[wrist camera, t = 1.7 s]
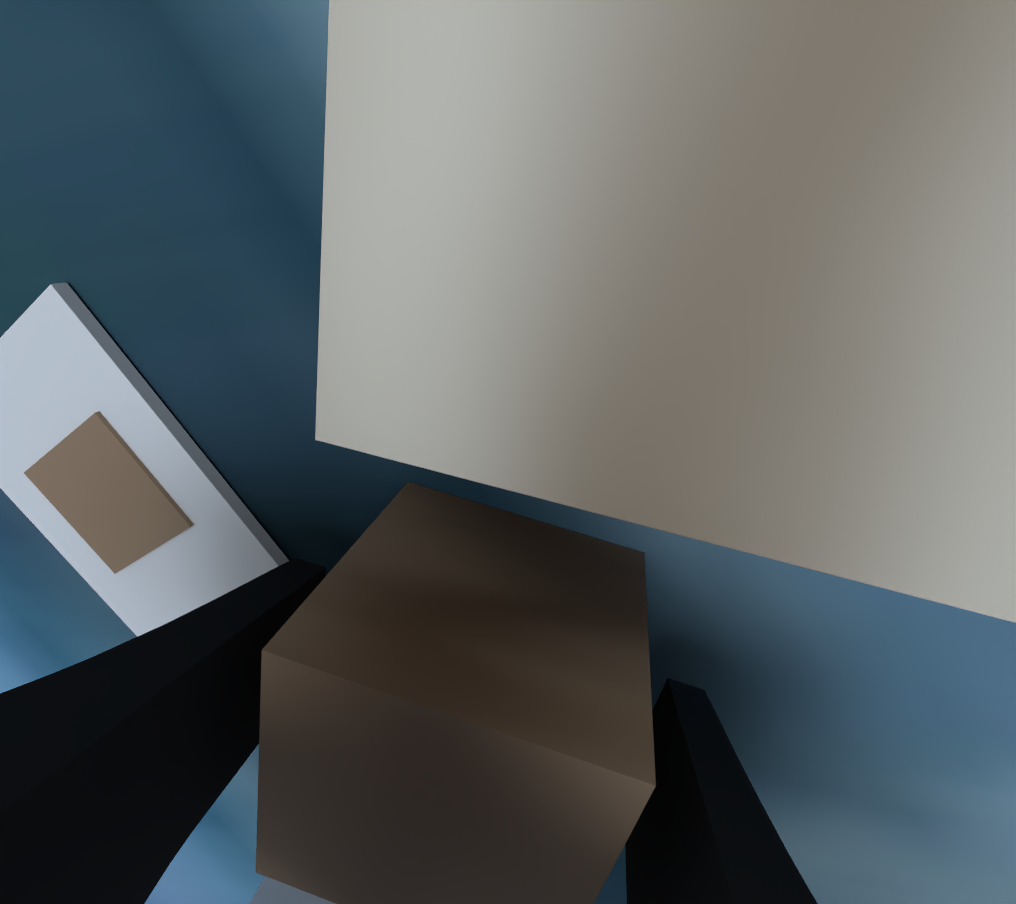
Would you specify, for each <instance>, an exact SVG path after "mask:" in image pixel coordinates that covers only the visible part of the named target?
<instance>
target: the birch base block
mask: <svg viewBox="0 0 1016 904" xmlns="http://www.w3.org/2000/svg"><path fill="white" fill-rule="evenodd" d="M315 440H318V441H322V442H326V443H330V444H333V445H337V446H341V447H345V448H349V449H352V450H356V451H360V452H364V453H368V454H372V455H375V456H379V457H383V458H387V459H391V460H395V461H398V462H402V463H406V464H410V465H414V466H418V467H421V468H425V469H429V470H433V471H437V472H441V473H444V474H448V475H452V476H456V477H460V478H464V479H467V480H471V481H475V482H479V483H483V484H486V485H490V486H494V487H498V488H502V489H506V490H509V491H513V492H517V493H521V494H525V495H529V496H532V497H536V498H540V499H544V500H548V501H552V502H555V503H559V504H563V505H567V506H571V507H575V508H578V509H582V510H586V511H590V512H594V513H598V514H601V515H605V516H609V517H613V518H617V519H620V520H624V521H628V522H632V523H636V524H640V525H643V526H647V527H651V528H655V529H659V530H663V531H666V532H670V533H674V534H678V535H682V536H686V537H689V538H693V539H697V540H701V541H705V542H709V543H712V544H716V545H720V546H724V547H728V548H731V549H735V550H739V551H743V552H747V553H751V554H754V555H758V556H762V557H766V558H770V559H774V560H777V561H781V562H785V563H789V564H793V565H797V566H800V567H804V568H808V569H812V570H816V571H820V572H823V573H827V574H831V575H835V576H839V577H843V578H846V579H850V580H854V581H858V582H862V583H865V584H869V585H873V586H877V587H881V588H885V589H888V590H892V591H896V592H900V593H904V594H908V595H911V596H915V597H919V598H923V599H927V600H931V601H934V602H938V603H942V604H946V605H950V606H954V607H957V608H961V609H965V610H969V611H973V612H976V613H980V614H984V615H988V616H992V617H996V618H999V619H1003V620H1007V621H1011V622H1015V623H1016V0H329V25H328V57H327V88H326V119H325V151H324V182H323V214H322V245H321V276H320V308H319V339H318V371H317V402H316V433H315Z"/></svg>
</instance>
